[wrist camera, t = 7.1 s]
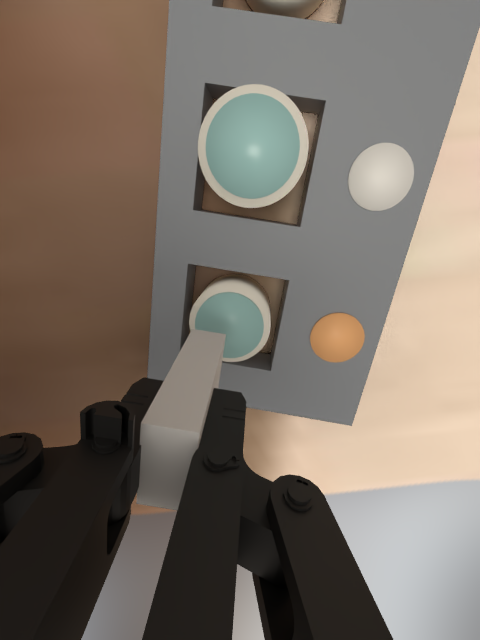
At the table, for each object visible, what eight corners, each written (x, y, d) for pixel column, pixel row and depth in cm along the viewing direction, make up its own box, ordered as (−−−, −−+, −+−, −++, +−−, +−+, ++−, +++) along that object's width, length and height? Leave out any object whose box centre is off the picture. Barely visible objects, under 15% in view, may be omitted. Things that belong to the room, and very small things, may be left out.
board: (158, 372, 25) (145, 390, 22) (200, -225, 14) (186, -314, 12) (343, 404, 24) (352, 427, 22) (521, -186, 14) (576, -271, 12)
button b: (205, 200, 18) (191, 199, 15) (215, 99, 16) (202, 73, 13) (291, 213, 18) (296, 215, 15) (310, 113, 16) (321, 90, 13)
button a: (196, 335, 23) (184, 356, 20) (203, 268, 21) (192, 279, 18) (263, 346, 23) (262, 370, 20) (276, 280, 21) (277, 293, 18)
